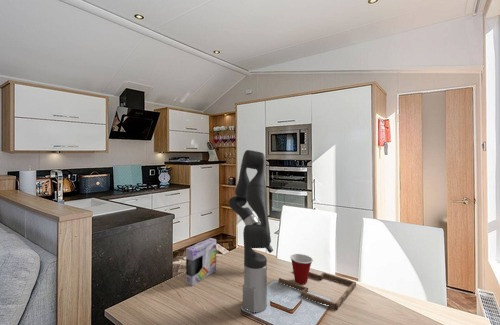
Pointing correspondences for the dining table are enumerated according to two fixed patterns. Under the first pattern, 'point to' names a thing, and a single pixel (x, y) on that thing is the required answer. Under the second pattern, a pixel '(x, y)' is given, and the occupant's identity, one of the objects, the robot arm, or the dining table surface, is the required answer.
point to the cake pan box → (200, 261)
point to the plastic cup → (301, 267)
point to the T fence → (318, 299)
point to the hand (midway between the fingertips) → (271, 251)
